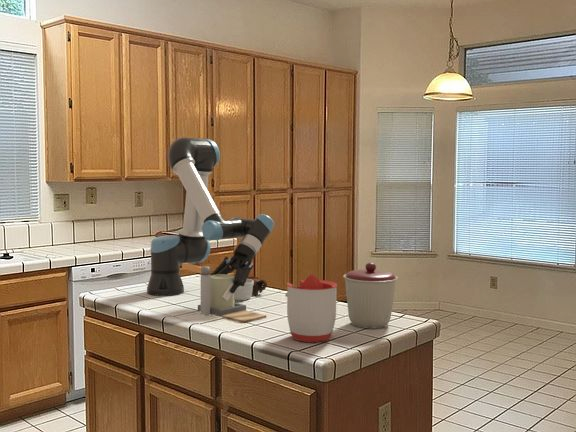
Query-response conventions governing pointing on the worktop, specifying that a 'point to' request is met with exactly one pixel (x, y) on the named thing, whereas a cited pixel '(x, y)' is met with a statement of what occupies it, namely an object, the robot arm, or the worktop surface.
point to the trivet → (244, 316)
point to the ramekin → (244, 291)
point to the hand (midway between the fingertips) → (215, 297)
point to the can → (220, 291)
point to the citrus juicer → (311, 309)
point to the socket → (205, 301)
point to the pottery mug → (258, 285)
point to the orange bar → (196, 268)
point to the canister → (370, 296)
